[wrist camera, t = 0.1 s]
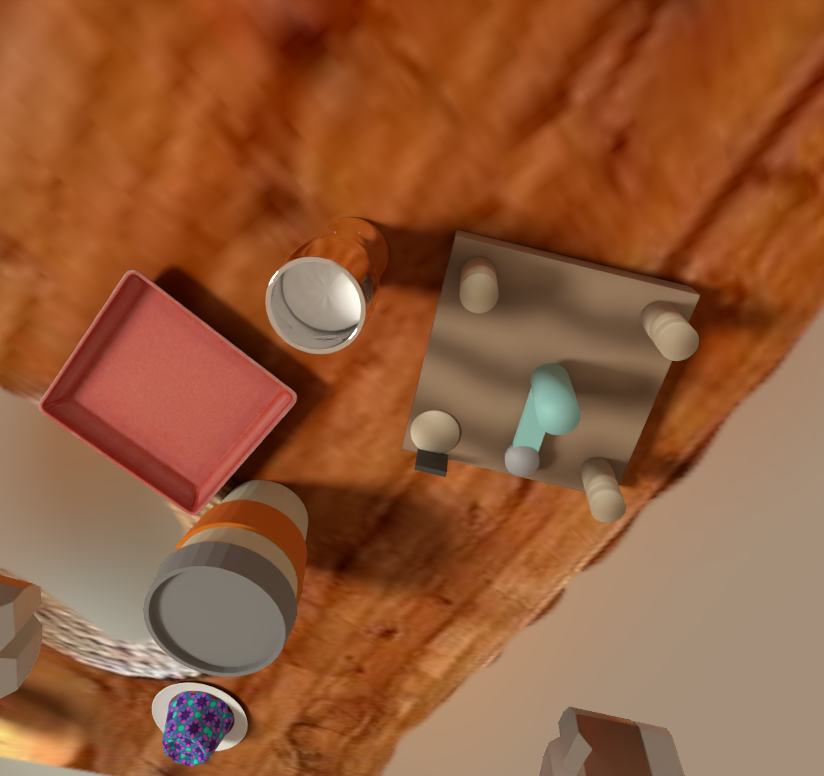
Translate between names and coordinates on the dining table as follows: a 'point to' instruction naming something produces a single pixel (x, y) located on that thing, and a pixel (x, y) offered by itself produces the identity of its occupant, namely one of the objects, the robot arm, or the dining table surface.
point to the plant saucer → (165, 395)
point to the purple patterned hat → (197, 722)
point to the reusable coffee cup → (233, 583)
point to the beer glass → (328, 287)
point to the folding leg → (542, 417)
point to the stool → (545, 362)
